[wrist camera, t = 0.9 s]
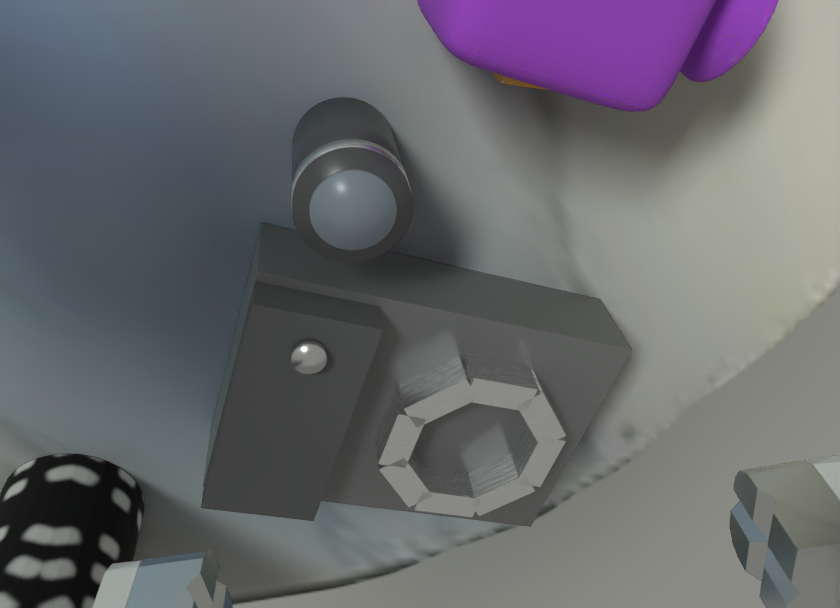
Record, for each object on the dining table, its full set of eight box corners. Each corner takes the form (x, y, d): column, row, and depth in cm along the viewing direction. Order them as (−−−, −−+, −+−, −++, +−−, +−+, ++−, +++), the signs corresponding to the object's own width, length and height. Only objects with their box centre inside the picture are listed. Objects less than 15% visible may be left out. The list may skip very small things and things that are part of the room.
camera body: (211, 424, 45) (198, 523, 39) (261, 222, 38) (255, 302, 32) (511, 468, 51) (542, 561, 44) (600, 299, 44) (651, 380, 38)
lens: (280, 181, 37) (278, 251, 31) (305, 83, 35) (308, 139, 29) (378, 205, 39) (393, 276, 33) (408, 112, 36) (431, 171, 30)
